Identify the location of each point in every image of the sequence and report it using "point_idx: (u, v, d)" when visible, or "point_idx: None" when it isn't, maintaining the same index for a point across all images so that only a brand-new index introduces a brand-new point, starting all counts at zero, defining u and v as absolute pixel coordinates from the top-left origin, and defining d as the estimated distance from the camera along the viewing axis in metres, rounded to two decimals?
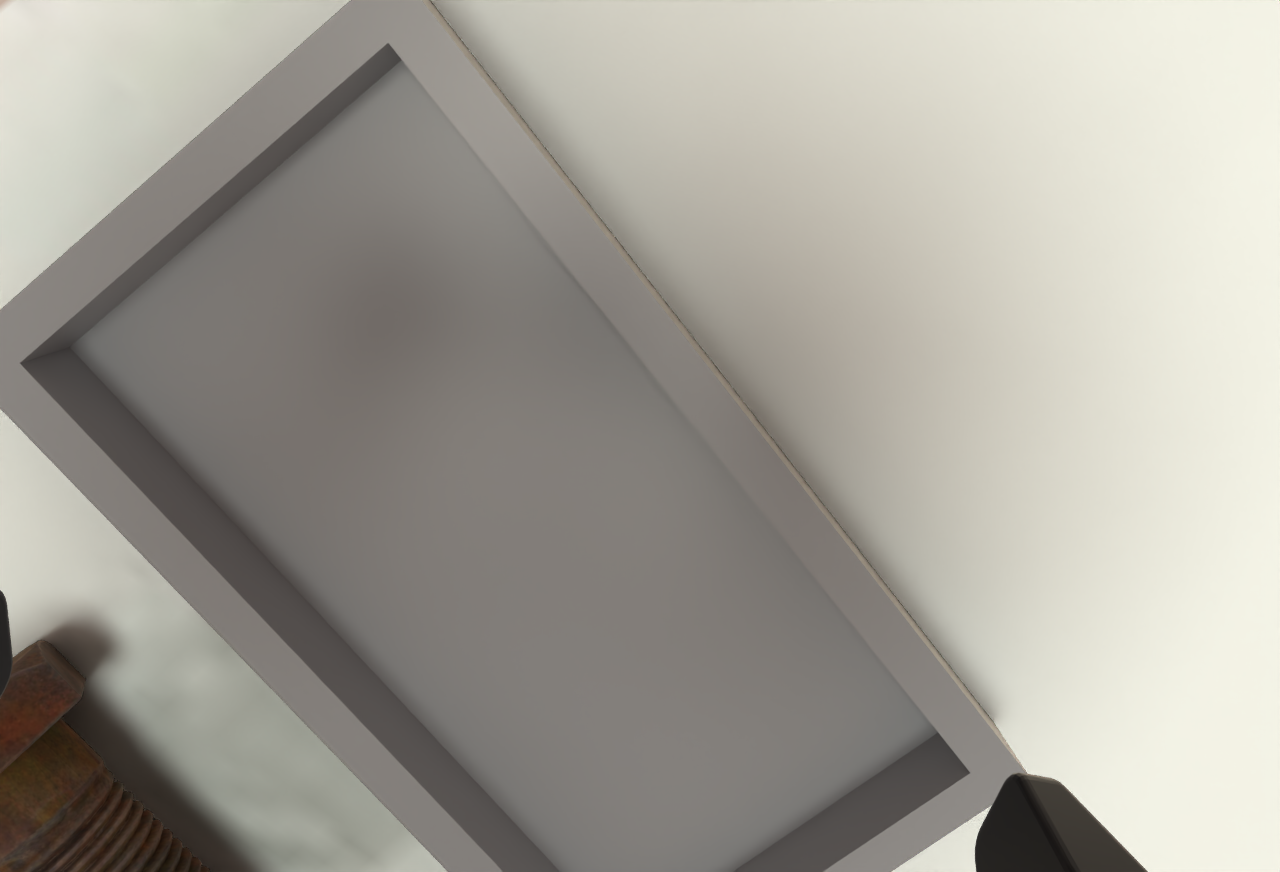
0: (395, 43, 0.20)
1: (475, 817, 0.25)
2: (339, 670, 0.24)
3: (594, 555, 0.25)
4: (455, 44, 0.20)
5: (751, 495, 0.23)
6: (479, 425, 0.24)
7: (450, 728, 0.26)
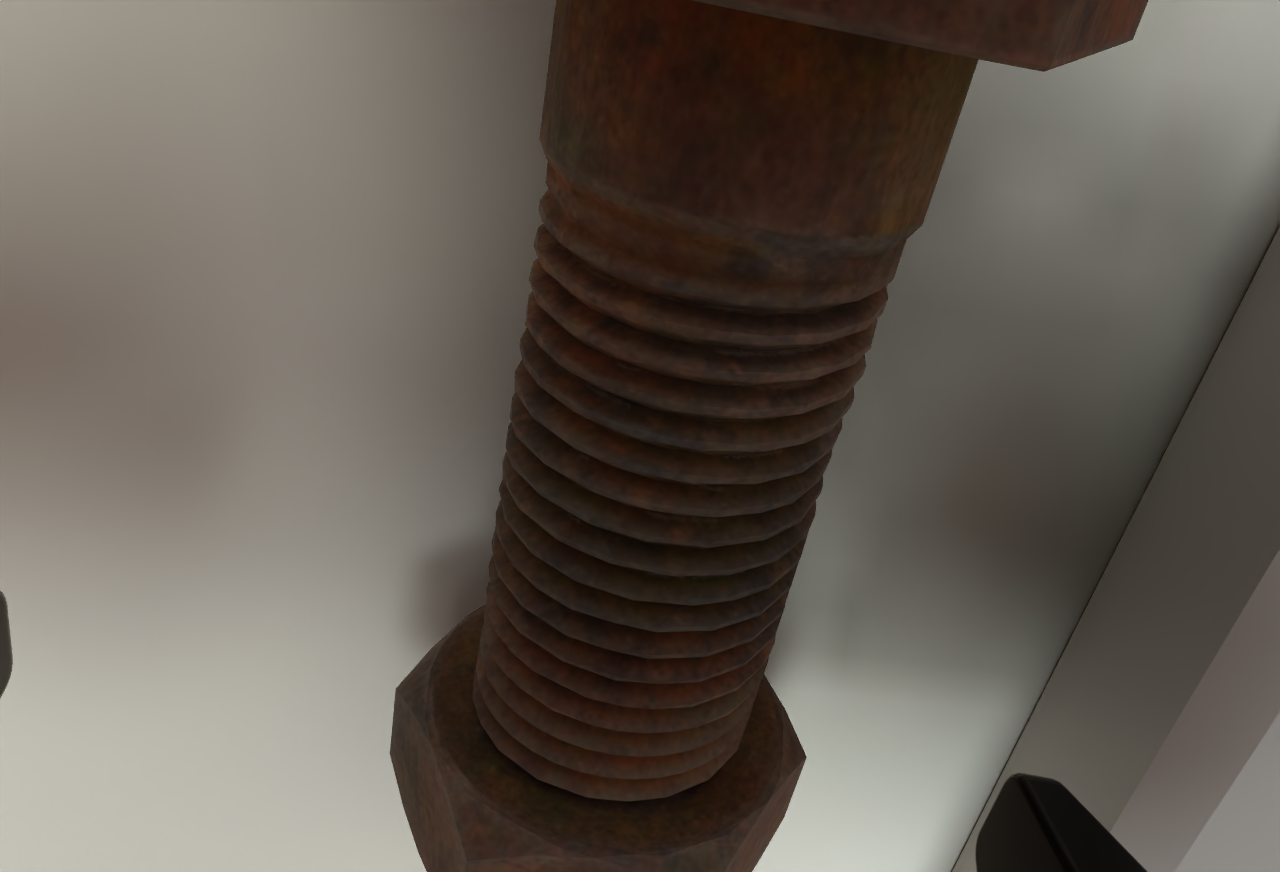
0: None
1: None
2: None
3: None
4: None
5: None
6: None
7: None
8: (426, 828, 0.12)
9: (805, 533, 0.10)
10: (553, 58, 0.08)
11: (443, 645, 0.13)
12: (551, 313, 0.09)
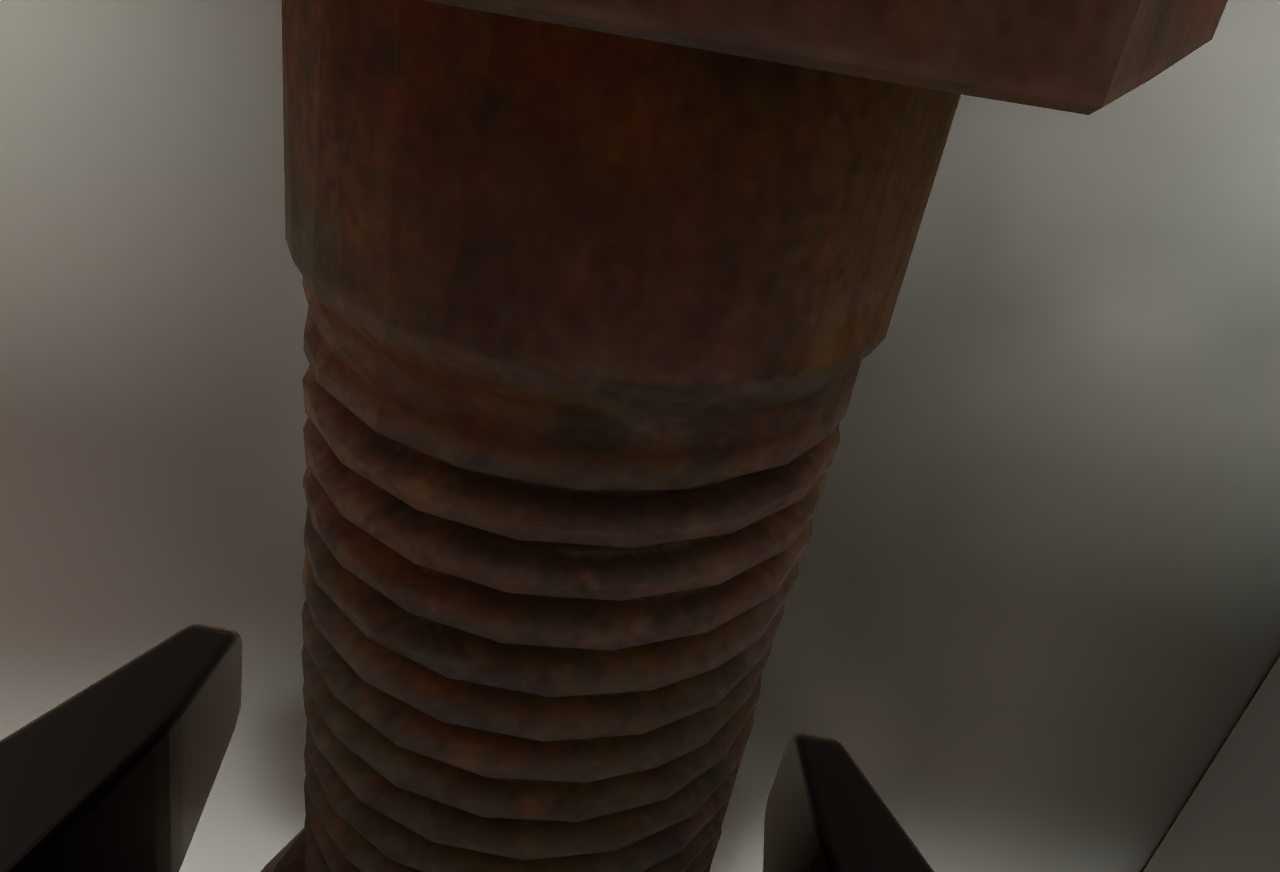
0: None
1: None
2: None
3: None
4: None
5: None
6: None
7: None
8: None
9: (735, 762, 0.07)
10: None
11: (279, 863, 0.10)
12: (319, 482, 0.06)
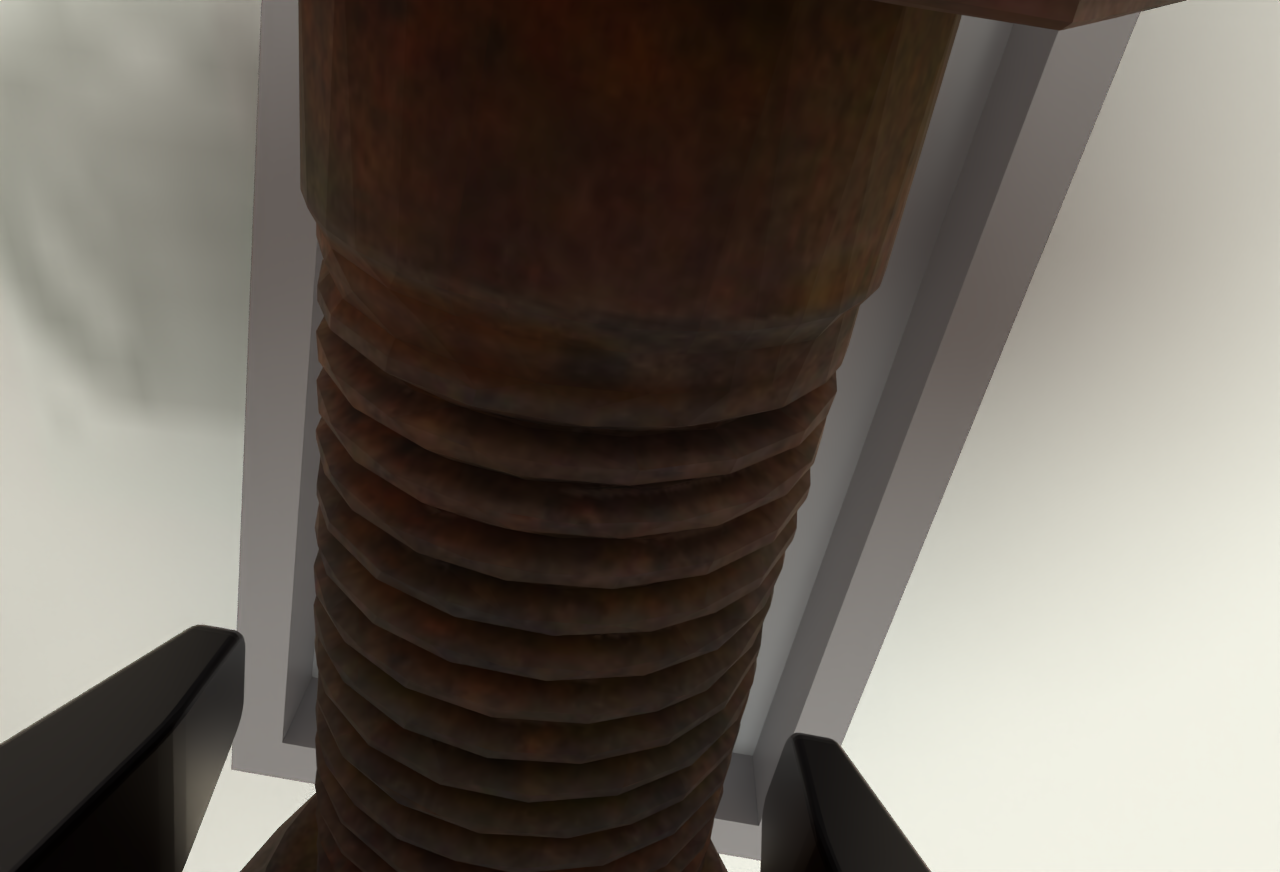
0: None
1: (311, 482, 0.20)
2: None
3: None
4: None
5: (888, 490, 0.18)
6: None
7: None
8: None
9: (736, 715, 0.07)
10: None
11: (290, 826, 0.10)
12: (331, 429, 0.06)
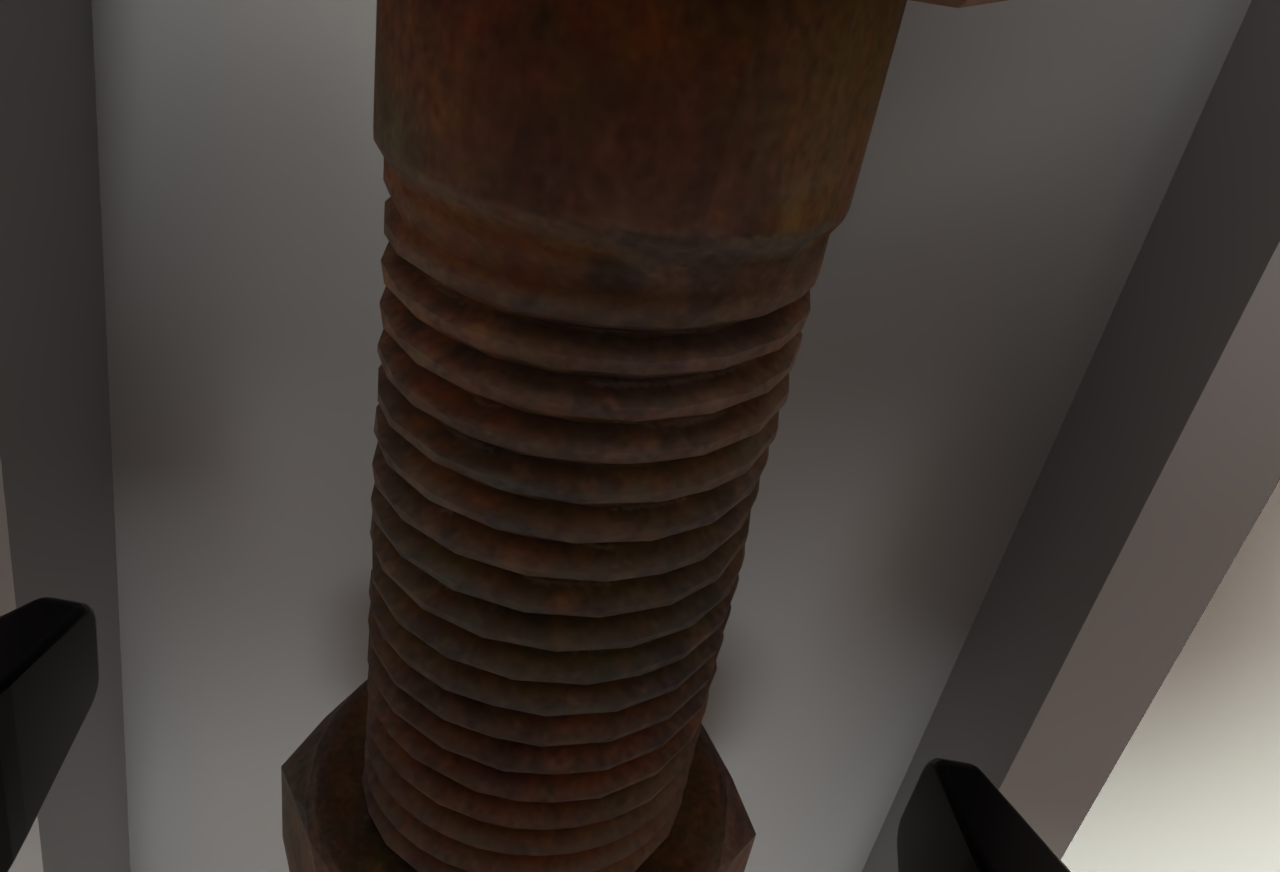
0: None
1: (75, 793, 0.13)
2: (54, 443, 0.10)
3: None
4: None
5: None
6: None
7: (157, 622, 0.13)
8: None
9: (728, 590, 0.09)
10: (376, 25, 0.07)
11: (336, 714, 0.11)
12: (395, 339, 0.07)
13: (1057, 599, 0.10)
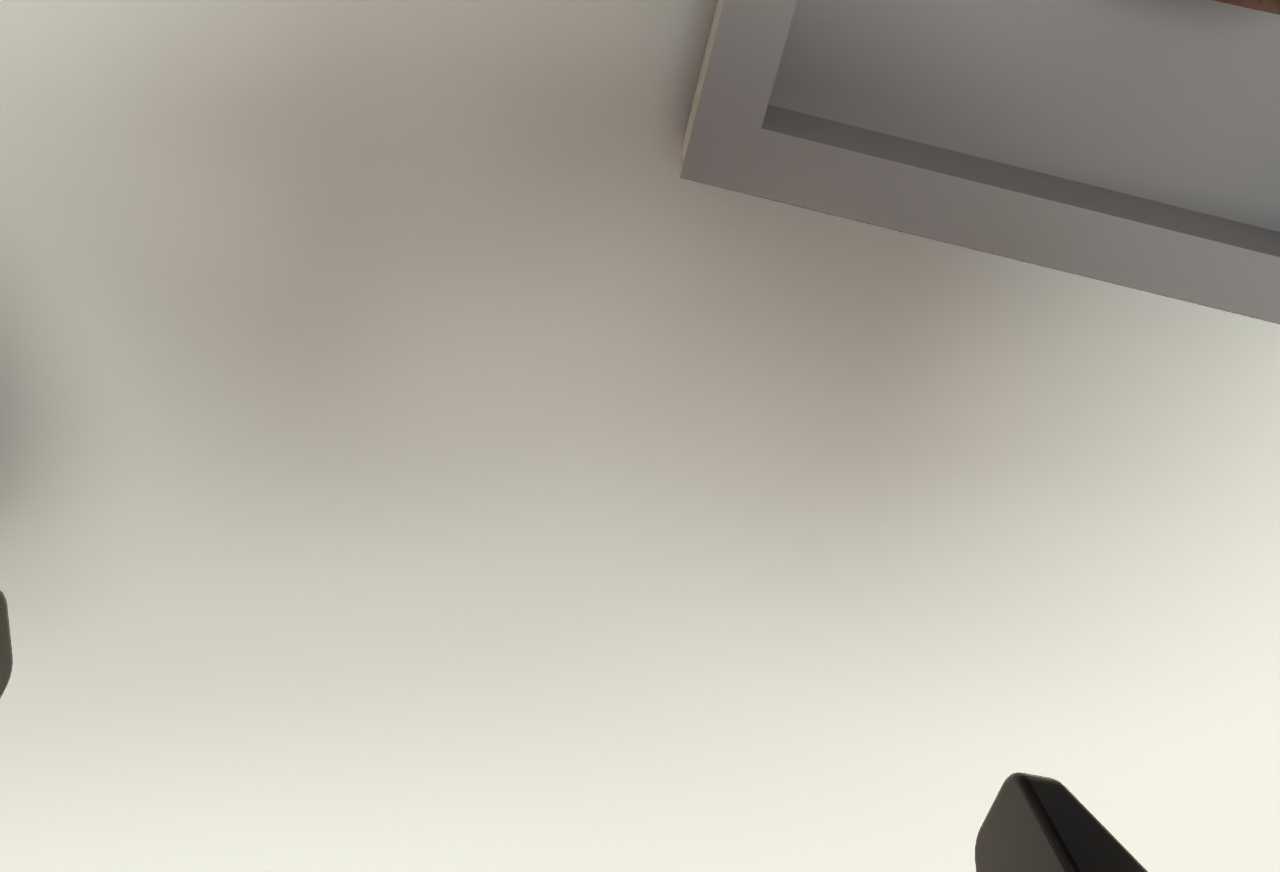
0: None
1: None
2: None
3: None
4: None
5: None
6: None
7: None
8: None
9: None
10: None
11: None
12: None
13: None
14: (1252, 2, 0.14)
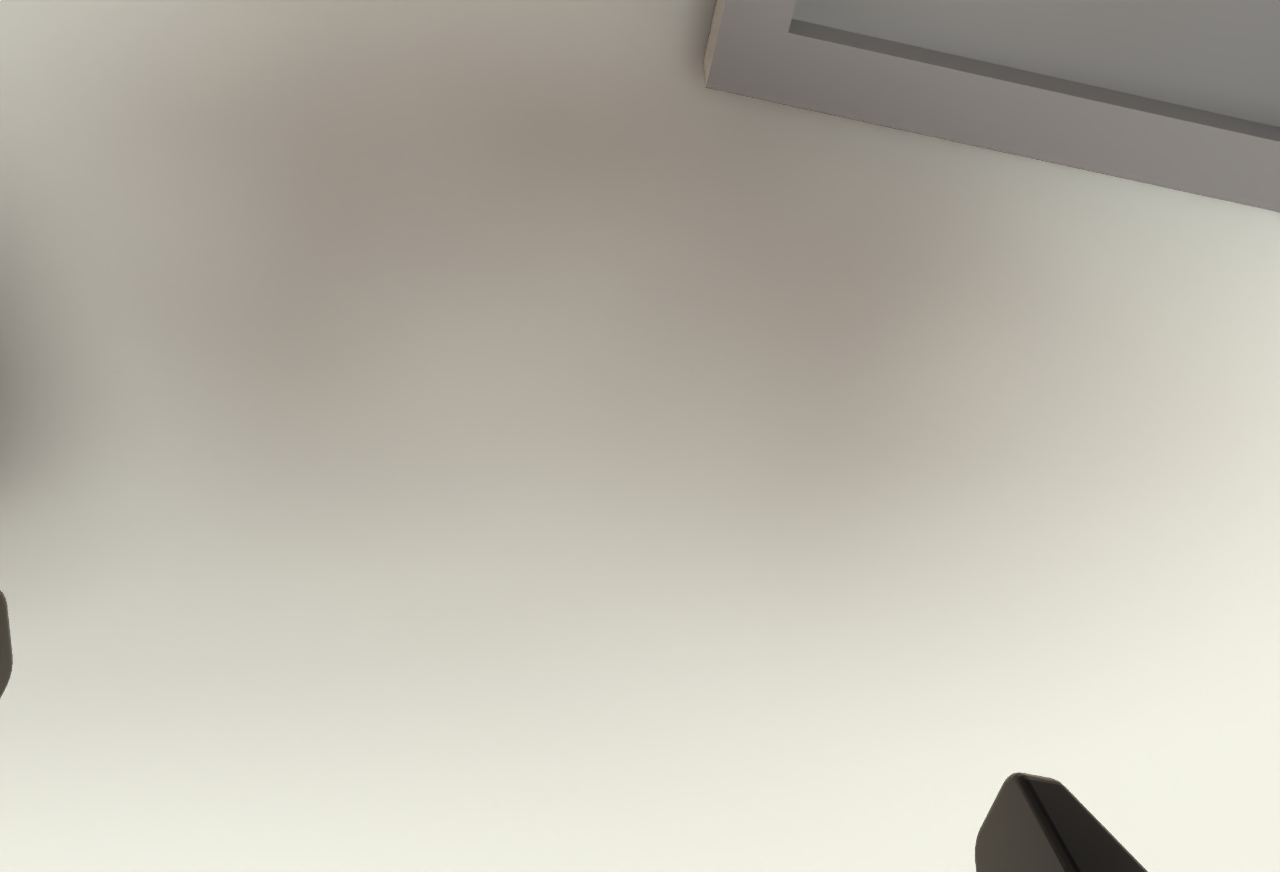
0: None
1: None
2: None
3: None
4: None
5: None
6: None
7: None
8: None
9: None
10: None
11: None
12: None
13: None
14: None
